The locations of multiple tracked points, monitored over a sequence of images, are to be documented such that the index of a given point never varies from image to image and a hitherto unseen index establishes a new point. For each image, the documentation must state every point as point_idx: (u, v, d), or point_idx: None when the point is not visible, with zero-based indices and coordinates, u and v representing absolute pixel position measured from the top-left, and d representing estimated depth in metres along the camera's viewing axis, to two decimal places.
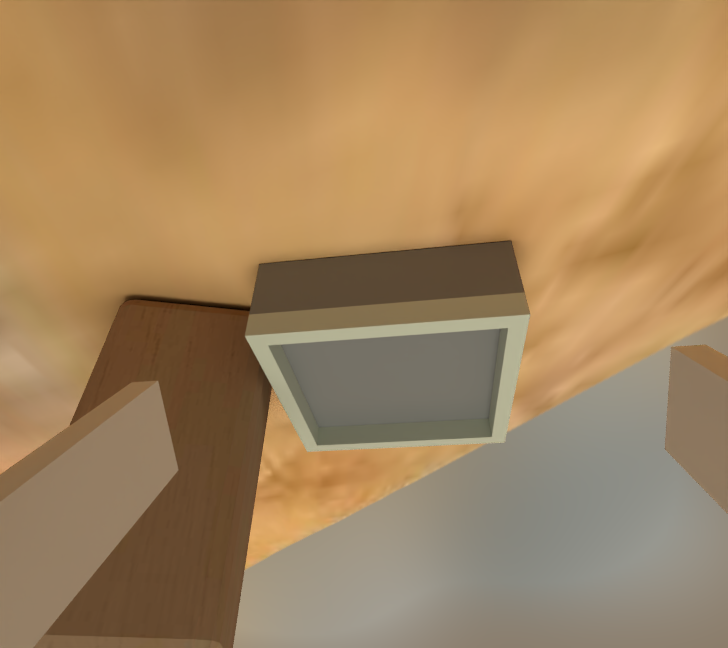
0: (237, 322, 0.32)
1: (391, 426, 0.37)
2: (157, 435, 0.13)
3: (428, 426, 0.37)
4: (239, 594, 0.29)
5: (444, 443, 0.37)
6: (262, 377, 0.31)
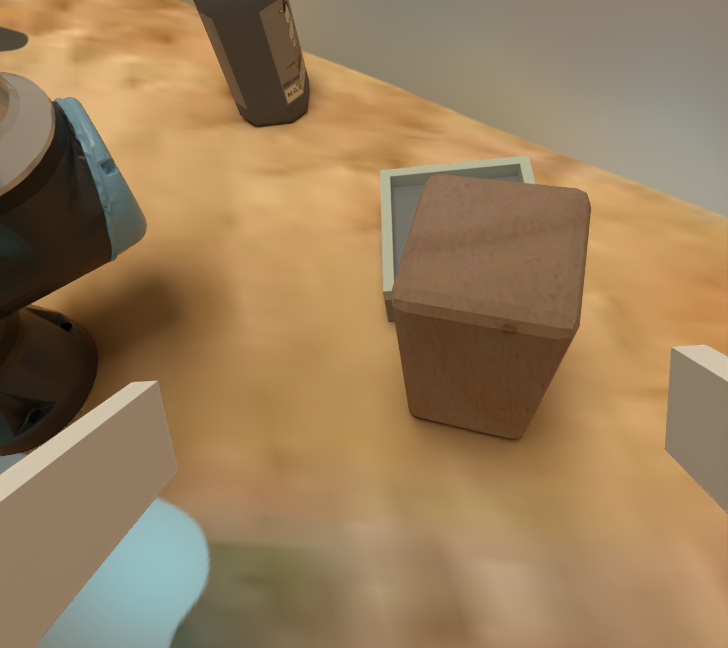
0: None
1: None
2: (157, 435, 0.13)
3: None
4: None
5: None
6: None
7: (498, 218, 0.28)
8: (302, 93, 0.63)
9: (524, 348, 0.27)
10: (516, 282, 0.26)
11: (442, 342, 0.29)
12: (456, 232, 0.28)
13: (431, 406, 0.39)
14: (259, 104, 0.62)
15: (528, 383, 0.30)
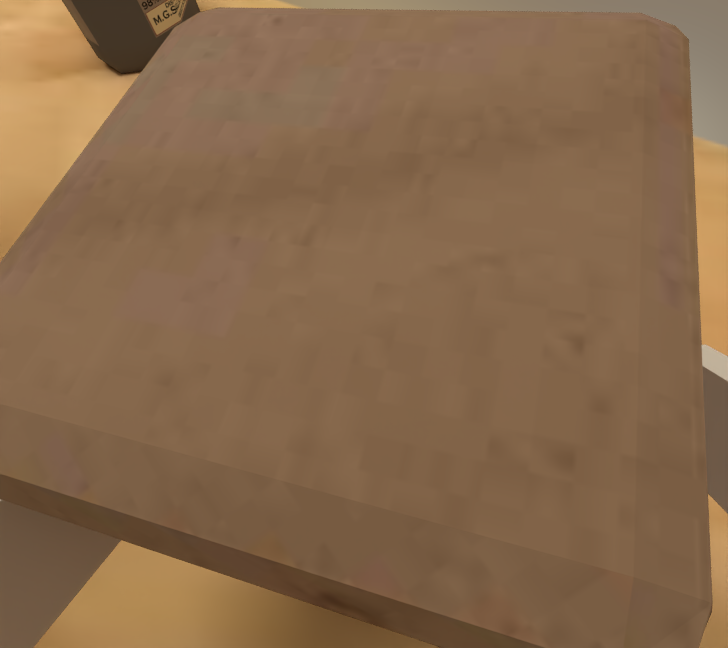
0: None
1: None
2: None
3: None
4: None
5: None
6: None
7: (357, 109, 0.08)
8: (180, 21, 0.43)
9: None
10: (390, 371, 0.05)
11: None
12: (200, 162, 0.07)
13: None
14: (114, 36, 0.42)
15: None
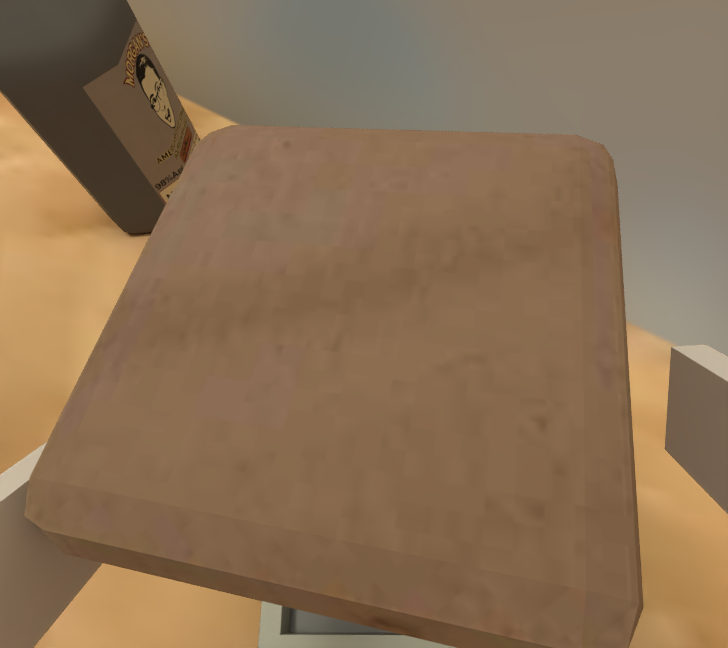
0: None
1: None
2: None
3: None
4: None
5: None
6: None
7: (362, 229, 0.10)
8: None
9: None
10: (410, 451, 0.07)
11: None
12: (241, 279, 0.09)
13: None
14: (126, 209, 0.41)
15: None
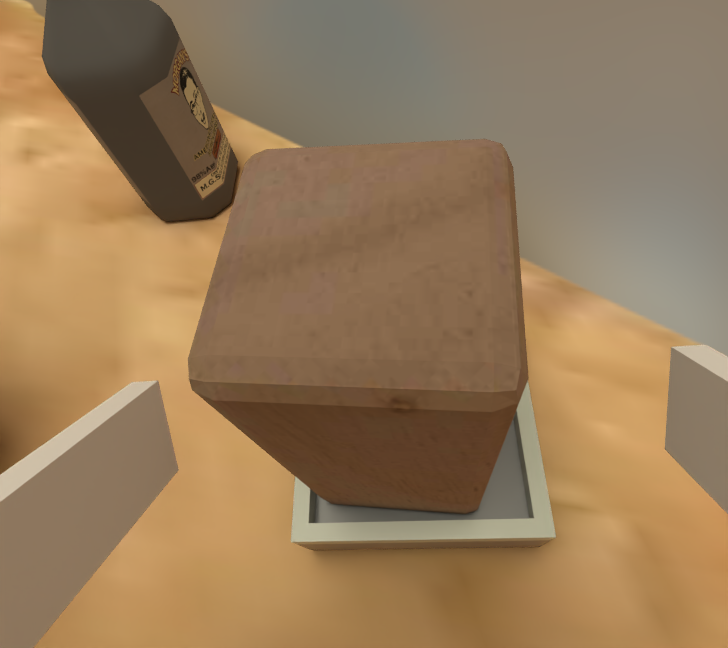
0: None
1: (515, 426, 0.31)
2: (157, 435, 0.13)
3: None
4: None
5: None
6: None
7: (362, 205, 0.16)
8: (222, 183, 0.48)
9: (440, 428, 0.15)
10: (402, 315, 0.14)
11: (306, 432, 0.16)
12: (293, 240, 0.16)
13: (342, 494, 0.27)
14: (165, 199, 0.48)
15: (466, 465, 0.18)
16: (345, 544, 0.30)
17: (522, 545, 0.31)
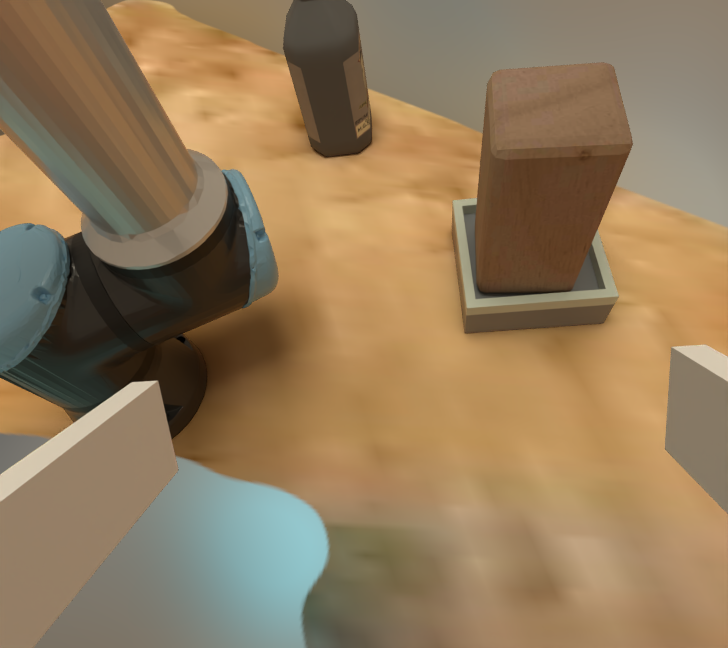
0: (475, 230, 0.55)
1: (589, 251, 0.54)
2: (157, 435, 0.13)
3: None
4: None
5: None
6: None
7: (555, 87, 0.38)
8: (369, 128, 0.70)
9: (593, 173, 0.37)
10: (583, 122, 0.36)
11: (529, 186, 0.39)
12: (528, 101, 0.38)
13: (502, 271, 0.49)
14: (331, 138, 0.70)
15: (591, 213, 0.41)
16: (493, 315, 0.52)
17: (594, 319, 0.53)
